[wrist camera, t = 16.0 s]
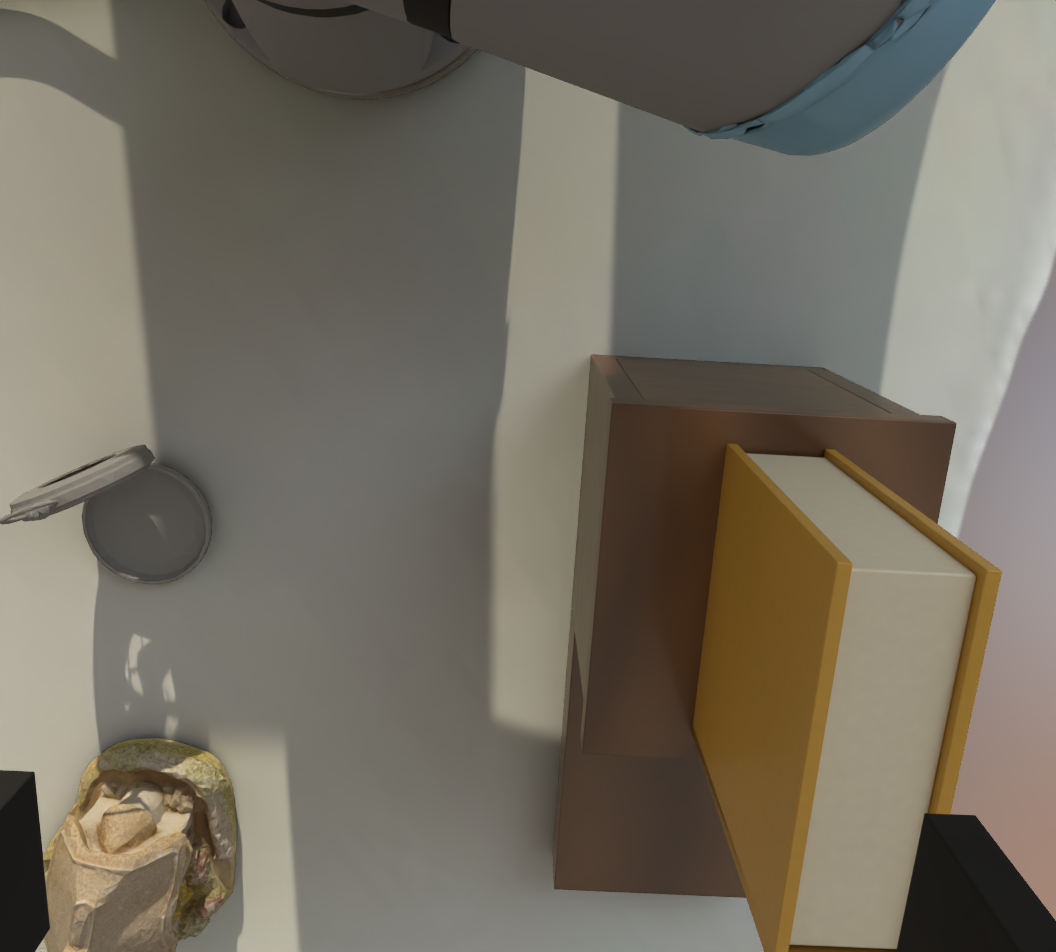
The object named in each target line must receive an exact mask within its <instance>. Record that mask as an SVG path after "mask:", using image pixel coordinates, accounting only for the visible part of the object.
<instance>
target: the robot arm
mask: <svg viewBox="0 0 1056 952" xmlns="http://www.w3.org/2000/svg"><path fill="white" fill-rule="evenodd" d="M995 1H996V0H205V2H206V3H207V5H208V6H209V8H210V9H211V11H212V12H213V14H214V15H215V17H216V18H217V19H218V21H219V22H220V23H221V24H222V26H223V27H224V28H225V29H226V30H227V32H228V33H229V34H230V35H231V36H232V37H233V38H234V39H235V40H236V41H237V42H238V43H239V44H240V45H241V46H242V47H243V48H244V49H245V50H247V51H248V52H249V53H250V54H251V55H252V56H254V57H255V58H256V59H258V60H259V61H260V62H262V63H263V64H265V65H266V66H268V67H269V68H271V69H272V70H274V71H275V72H277V73H279V74H281V75H282V76H284V77H286V78H288V79H289V80H291V81H293V82H295V83H297V84H300V85H302V86H304V87H306V88H309V89H312V90H315V91H318V92H321V93H324V94H328V95H333V96H337V97H344V98H352V99H377V98H387V97H392V96H397V95H402V94H405V93H409V92H412V91H415V90H418V89H420V88H423V87H425V86H427V85H429V84H432V83H434V82H435V81H437V80H439V79H441V78H442V77H444V76H446V75H447V74H449V73H450V72H452V71H453V70H454V69H456V68H457V67H459V66H460V65H461V64H462V63H463V62H464V61H466V60H467V59H468V58H469V57H470V56H471V55H472V54H473V53H474V52H475V51H476V50H477V49H478V50H481V51H484V52H487V53H489V54H492V55H495V56H497V57H500V58H503V59H505V60H508V61H511V62H514V63H516V64H519V65H522V66H524V67H527V68H530V69H533V70H535V71H538V72H541V73H543V74H546V75H549V76H551V77H554V78H557V79H560V80H562V81H565V82H568V83H570V84H573V85H576V86H578V87H581V88H584V89H587V90H589V91H592V92H595V93H597V94H600V95H603V96H606V97H608V98H611V99H614V100H616V101H619V102H622V103H624V104H627V105H630V106H633V107H635V108H638V109H641V110H643V111H646V112H649V113H651V114H654V115H657V116H660V117H662V118H665V119H668V120H670V121H673V122H676V123H679V124H681V125H683V126H684V127H685V128H687V129H688V130H689V131H691V132H692V133H694V134H697V135H699V136H701V135H705V136H707V137H709V138H711V139H729V138H732V139H735V140H739V141H742V142H746V143H749V144H753V145H756V146H760V147H763V148H766V149H770V150H773V151H777V152H780V153H784V154H788V155H803V156H809V155H818V154H823V153H827V152H830V151H833V150H836V149H839V148H842V147H845V146H847V145H849V144H851V143H853V142H855V141H857V140H859V139H860V138H862V137H864V136H866V135H867V134H869V133H870V132H872V131H873V130H875V129H876V128H878V127H879V126H881V125H882V124H883V123H885V122H886V121H888V120H889V119H890V118H891V117H892V116H894V115H895V114H896V113H897V112H898V111H900V110H901V109H902V108H903V107H904V106H905V105H906V104H908V103H909V102H910V101H911V100H912V99H913V98H914V97H915V96H916V95H917V94H918V93H919V92H920V91H921V90H922V89H923V88H924V87H925V86H926V85H927V84H928V83H929V82H930V81H931V80H932V79H933V78H934V77H935V76H936V75H937V74H938V73H939V71H940V70H941V69H942V68H943V67H944V66H945V65H946V64H947V63H948V61H949V60H950V59H951V58H952V57H953V56H954V55H955V54H956V52H957V51H958V50H959V49H960V48H961V46H962V45H963V44H964V43H965V41H966V40H967V39H968V38H969V36H970V35H971V34H972V32H973V31H974V30H975V29H976V27H977V26H978V25H979V23H980V22H981V20H982V19H983V18H984V16H985V15H986V14H987V12H988V11H989V9H990V8H991V6H992V5H993V4H994V2H995ZM49 929H50V922H49V912H48V902H47V892H46V882H45V873H44V863H43V853H42V843H41V833H40V823H39V813H38V803H37V793H36V784H35V774H34V772H24V771H3V770H0V952H35V950H36V949H37V947H38V946H39V944H40V943H41V941H42V940H43V938H44V937H45V935H46V934H47V932H48V931H49ZM896 952H1056V921H1055V919H1054V918H1053V917H1052V916H1051V914H1050V913H1049V911H1048V910H1047V909H1046V907H1045V906H1044V905H1043V904H1042V902H1041V901H1040V900H1039V898H1038V897H1037V896H1036V895H1035V893H1034V892H1033V891H1032V889H1031V888H1030V887H1029V885H1028V884H1027V883H1026V881H1025V880H1024V879H1023V877H1022V876H1021V875H1020V873H1019V872H1018V871H1017V870H1016V868H1015V867H1014V866H1013V864H1012V863H1011V862H1010V860H1009V859H1008V858H1007V856H1006V855H1005V854H1004V853H1003V851H1002V850H1001V849H1000V847H999V846H998V845H997V843H996V842H995V841H994V839H993V838H992V837H991V835H990V834H989V833H988V832H987V830H986V829H985V828H984V826H983V825H982V824H981V822H980V821H979V820H978V818H977V817H976V816H973V815H952V814H931V813H924V818H923V823H922V828H921V833H920V838H919V843H918V848H917V852H916V857H915V862H914V867H913V872H912V877H911V882H910V887H909V892H908V896H907V901H906V906H905V911H904V916H903V921H902V926H901V931H900V935H899V940H898V945H897V950H896Z"/></svg>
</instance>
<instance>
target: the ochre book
mask: <svg viewBox="0 0 1056 952" xmlns="http://www.w3.org/2000/svg"><path fill="white" fill-rule="evenodd" d="M1001 574H1002V571H1001V570H999V569H998V568H997V567H995V566H994V565H993V564H991V563H990V562H989V561H987V560H986V559H984V558H983V557H982V556H980V555H979V554H978V553H976V552H975V551H973V550H972V549H971V548H969V547H968V546H967V545H965V544H964V543H962V542H961V541H960V540H958V539H957V538H956V537H954V536H953V535H951V534H950V533H949V532H947V531H946V530H945V529H943V528H942V527H940V526H939V525H938V524H936V523H935V522H934V521H932V520H931V519H929V518H928V517H927V516H925V515H924V514H923V513H921V512H920V511H918V510H917V509H916V508H914V507H913V506H912V505H910V504H909V503H907V502H906V501H905V500H903V499H902V498H901V497H899V496H898V495H897V494H895V493H894V492H892V491H891V490H890V489H888V488H887V487H886V486H884V485H883V484H881V483H880V482H879V481H877V480H876V479H875V478H873V477H872V476H870V475H869V474H868V473H866V472H865V471H864V470H862V469H861V468H859V467H858V466H857V465H855V464H854V463H853V462H851V461H850V460H848V459H847V458H846V457H844V456H843V455H842V454H840V453H839V452H837V451H836V450H834V449H825V451H824V458H821V457H803V456H785V455H767V454H748V453H745V452H744V451H743V450H742V449H741V448H740V447H739V446H738V445H737V444H727V447H726V455H725V464H724V472H723V480H722V488H721V497H720V505H719V513H718V521H717V530H716V538H715V546H714V554H713V563H712V571H711V579H710V587H709V596H708V604H707V612H706V620H705V629H704V637H703V645H702V653H701V662H700V670H699V678H698V686H697V695H696V703H695V711H694V720H693V728H692V736H693V739H694V742H695V745H696V748H697V751H698V754H699V757H700V760H701V763H702V766H703V769H704V772H705V775H706V778H707V781H708V784H709V787H710V790H711V793H712V796H713V799H714V802H715V805H716V808H717V811H718V814H719V817H720V820H721V823H722V826H723V829H724V832H725V835H726V838H727V841H728V844H729V847H730V850H731V853H732V856H733V859H734V862H735V865H736V868H737V871H738V874H739V877H740V880H741V883H742V886H743V889H744V892H745V895H746V898H747V901H748V904H749V907H750V910H751V913H752V916H753V919H754V922H755V925H756V928H757V931H758V934H759V937H760V940H761V943H762V946H763V949H764V952H896V950H897V945H898V940H899V935H900V931H901V926H902V921H903V916H904V911H905V906H906V901H907V896H908V892H909V887H910V882H911V877H912V872H913V867H914V862H915V857H916V852H917V848H918V843H919V838H920V833H921V828H922V823H923V818H924V813H931V814H950V812H951V808H952V803H953V798H954V793H955V789H956V784H957V780H958V775H959V770H960V765H961V761H962V756H963V751H964V747H965V742H966V737H967V733H968V728H969V723H970V719H971V714H972V709H973V704H974V700H975V695H976V690H977V686H978V681H979V677H980V672H981V667H982V663H983V658H984V653H985V649H986V644H987V639H988V635H989V630H990V625H991V621H992V616H993V611H994V607H995V601H996V597H997V592H998V588H999V583H1000V579H1001Z"/></svg>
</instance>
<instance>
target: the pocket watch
mask: <svg viewBox="0 0 1056 952" xmlns="http://www.w3.org/2000/svg"><path fill="white" fill-rule="evenodd" d="M154 459H155V457H154V455H153V454H152V452H151V450H149V449H148V448H147V447H146V445H140V446H135V447H131V448H128V449H125V450H122V451H119V452H116V453H114V454H111V455H109V456H106V457H104V458H101V459H99V460H96V461H94V462H91V463H89V464H86V465H84V466H81V467H79V468H77V469H75V470H72V471H70V472H68V473H66V474H64V475H61V476H59V477H57V478H55V479H52V480H50V481H48V482H46V483H44V484H42V485H40V486H38V487H36V488H34V489H32V490H30V491H28V492H26V493H25V494H23V495H21V496H20V497H18V498H17V499H15V500H14V501H13V502H11V503H10V507H11V514H9V515H6V516H4V517H3V518H1V519H0V524H9V523H13V522H16V521H20V520H23V521H35V520H42V519H45V518H47V517H48V516H50V515H52V514H55V513H58V512H60V511H63V510H65V509H68V508H70V507H73V506H75V505H77V504H80V503H82V502H84V501H85V502H84V505H83V512H82V521H83V530H84V534H85V537H86V539H87V541H88V544H89V546H90V548H91V549H92V551H93V553H94V554H95V556H96V557H97V558H98V559H99V560H100V562H101V563H102V564H104V565H105V566H106V567H107V568H108V569H110V570H111V571H112V572H114V573H116V574H117V575H119V576H121V577H123V578H126V579H128V580H131V581H134V582H138V583H146V584H162V583H167V582H170V581H174V580H177V579H179V578H180V577H182V576H184V575H186V574H188V573H189V572H190V571H192V570H193V569H194V568H195V567H196V566H197V564H198V563H199V562H200V561H201V559H202V558H203V556H204V555H205V554H206V552H207V549H208V547H209V544H210V540H211V534H212V520H211V516H210V511H209V508H208V506H207V504H206V501H205V499H204V497H203V496H202V494H201V493H200V492H199V490H198V489H197V487H196V486H195V485H194V484H193V483H192V482H191V481H190V480H189V479H188V478H186V477H185V476H183V475H181V474H180V473H178V472H177V471H175V470H174V469H171V468H168V467H166V466H163V465H160V464H155V463H151V462H152V461H153V460H154ZM13 517H14V518H13Z"/></svg>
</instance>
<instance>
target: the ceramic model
mask: <svg viewBox="0 0 1056 952" xmlns="http://www.w3.org/2000/svg"><path fill="white" fill-rule="evenodd" d="M76 802H77V803H76V804H75V805H74V807H73V808H72V809H71V811H70V812H69V813H68V815H67V818H66V820H65V822H64V824H63V825H62V826H61V828H60V829H59V830H58V832H57V833H56V835H55V836H54V837H53V838H52V840H51V841H50V842H49V846H48V849H47V851H46V852H45V854H44V856H43V863H44V873H45V882H46V892H47V902H48V912H49V922H50V929H49V931H48V932H47V934H46V935H45V937H44V941H45V944H46V947H47V951H48V952H175V950H176V946H177V942H178V941H179V940H181V939H182V938H183V939H186V938H187V937H189V936H197V935H199V934H200V933H201V931H202V930H203V929H204V928H205V927H206V925H207V924H208V923H209V917H210V916H211V915H212V914H213V913H214V912H216V911H217V910H218V909H219V907H220V906H221V905H222V904H223V903H224V902H225V901H226V900H227V899H228V898H229V896H230V895H231V894H232V892H233V883H234V875H235V856H236V848H237V842H236V811H235V802H234V796H233V788H232V784H231V782H230V779H229V777H228V774H227V772H226V770H225V768H224V767H223V765H222V764H221V762H220V761H219V760H218V759H217V758H216V757H215V756H214V755H212V754H210V753H209V752H207V751H204V750H201V749H199V748H196V747H193V746H190V745H187V744H182V743H179V742H176V741H171V740H167V739H162V738H147V739H145V738H144V739H133V740H127V741H123V742H120V743H118V744H115V745H113V746H112V747H110V748H109V749H107V750H106V751H105V752H103V753H102V754H101V755H99V756H97V757H96V758H95V759H94V760H93V761H92V762H91V763H90V764H89V765H88V767H87V768H86V770H85V772H84V774H83V776H82V778H81V781H80V786H79V792H78V797H77V801H76Z"/></svg>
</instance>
